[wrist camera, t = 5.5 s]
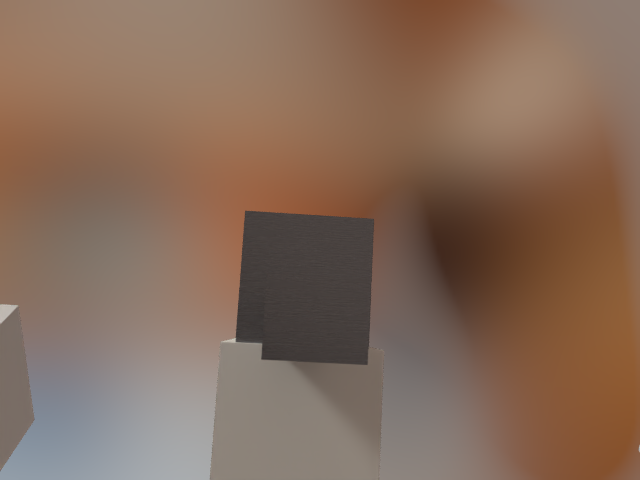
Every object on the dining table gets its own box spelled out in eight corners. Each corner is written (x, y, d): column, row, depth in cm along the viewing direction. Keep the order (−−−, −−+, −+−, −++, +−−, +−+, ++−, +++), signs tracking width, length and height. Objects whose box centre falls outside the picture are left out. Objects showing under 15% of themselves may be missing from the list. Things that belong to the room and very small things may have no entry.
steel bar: (192, 355, 12) (212, 121, 13) (245, 338, 27) (253, 233, 28) (434, 368, 12) (439, 137, 13) (352, 344, 28) (357, 239, 28)
